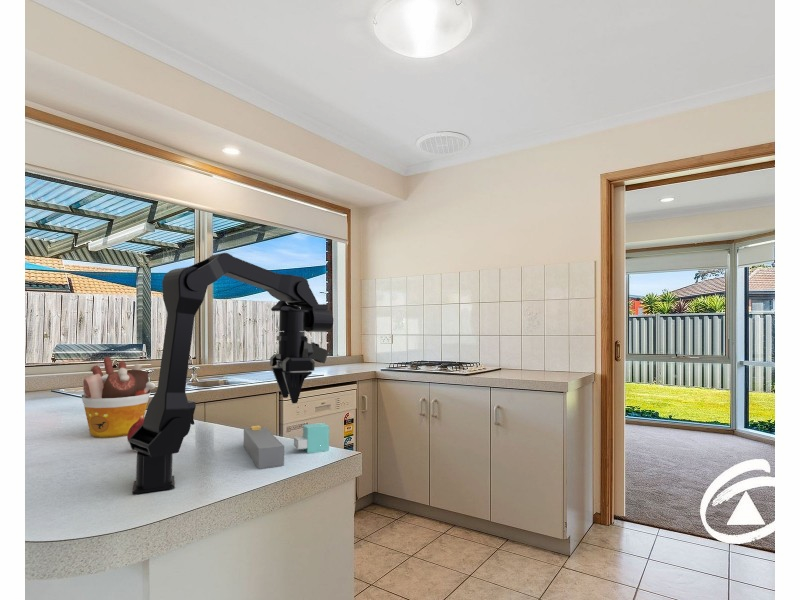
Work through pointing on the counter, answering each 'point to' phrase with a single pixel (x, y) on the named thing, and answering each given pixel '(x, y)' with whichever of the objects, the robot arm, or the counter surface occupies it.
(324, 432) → the block
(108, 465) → the counter surface
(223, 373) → the counter surface
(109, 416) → the bucket of meat
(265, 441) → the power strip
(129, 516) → the counter surface
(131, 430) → the onion
